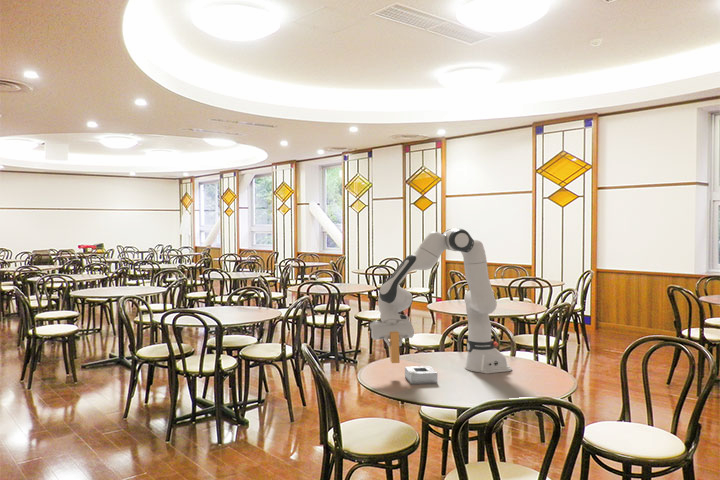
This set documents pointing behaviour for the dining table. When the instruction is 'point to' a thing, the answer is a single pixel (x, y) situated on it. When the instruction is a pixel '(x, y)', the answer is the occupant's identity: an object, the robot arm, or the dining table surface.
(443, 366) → the dining table surface
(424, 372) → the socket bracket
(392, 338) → the rectangular peg
